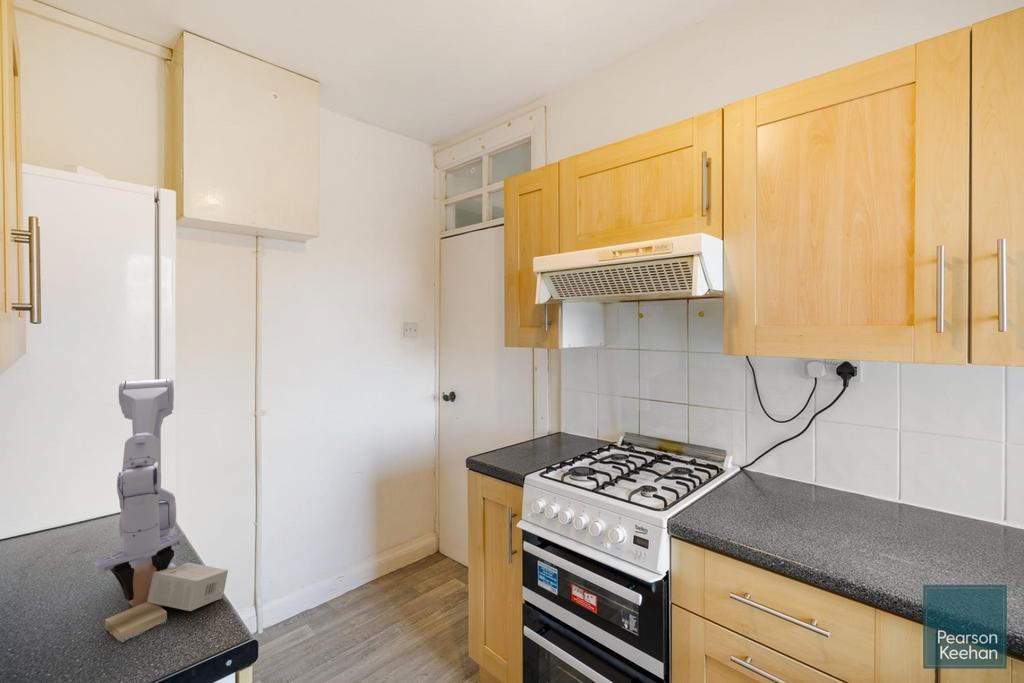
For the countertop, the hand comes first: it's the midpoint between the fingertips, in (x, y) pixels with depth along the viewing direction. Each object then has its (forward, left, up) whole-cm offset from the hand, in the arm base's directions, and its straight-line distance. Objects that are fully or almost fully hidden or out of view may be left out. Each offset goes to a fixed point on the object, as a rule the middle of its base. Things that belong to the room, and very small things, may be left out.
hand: (143, 592), depth 93 cm
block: (-1, 0, -2) cm, 2 cm away
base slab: (+7, -4, -3) cm, 8 cm away
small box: (+13, +7, +1) cm, 14 cm away
